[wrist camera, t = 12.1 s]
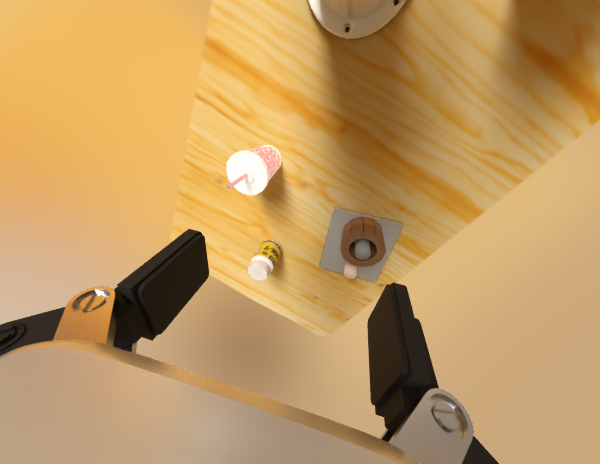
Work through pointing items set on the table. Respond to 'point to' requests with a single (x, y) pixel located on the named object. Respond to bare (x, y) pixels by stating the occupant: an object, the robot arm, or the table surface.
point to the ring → (363, 230)
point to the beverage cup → (253, 169)
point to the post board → (335, 243)
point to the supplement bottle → (264, 260)
